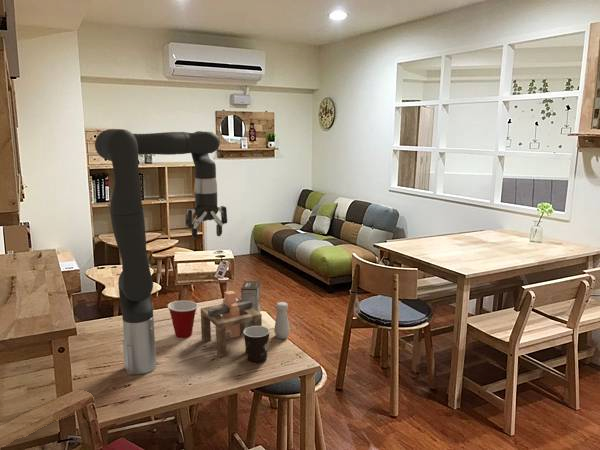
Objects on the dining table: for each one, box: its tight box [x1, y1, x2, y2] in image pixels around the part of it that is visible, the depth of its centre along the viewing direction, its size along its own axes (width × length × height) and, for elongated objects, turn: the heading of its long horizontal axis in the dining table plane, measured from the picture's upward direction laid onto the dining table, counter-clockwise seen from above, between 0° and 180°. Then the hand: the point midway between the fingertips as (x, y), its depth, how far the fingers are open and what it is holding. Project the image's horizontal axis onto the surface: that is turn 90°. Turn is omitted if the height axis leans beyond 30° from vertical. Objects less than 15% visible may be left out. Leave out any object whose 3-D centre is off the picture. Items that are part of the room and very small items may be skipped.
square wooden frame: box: [200, 299, 263, 358], centre depth 176 cm, size 16×16×14 cm
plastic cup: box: [167, 300, 199, 339], centre depth 182 cm, size 11×11×12 cm
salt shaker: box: [273, 301, 291, 340], centre depth 181 cm, size 6×6×13 cm
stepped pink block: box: [221, 290, 241, 338], centre depth 174 cm, size 3×8×15 cm, turn 33°
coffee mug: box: [243, 325, 271, 365], centre depth 163 cm, size 12×9×10 cm
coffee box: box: [240, 280, 261, 329], centre depth 192 cm, size 9×6×16 cm
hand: (207, 237), depth 173 cm, fingers open, 8 cm apart
